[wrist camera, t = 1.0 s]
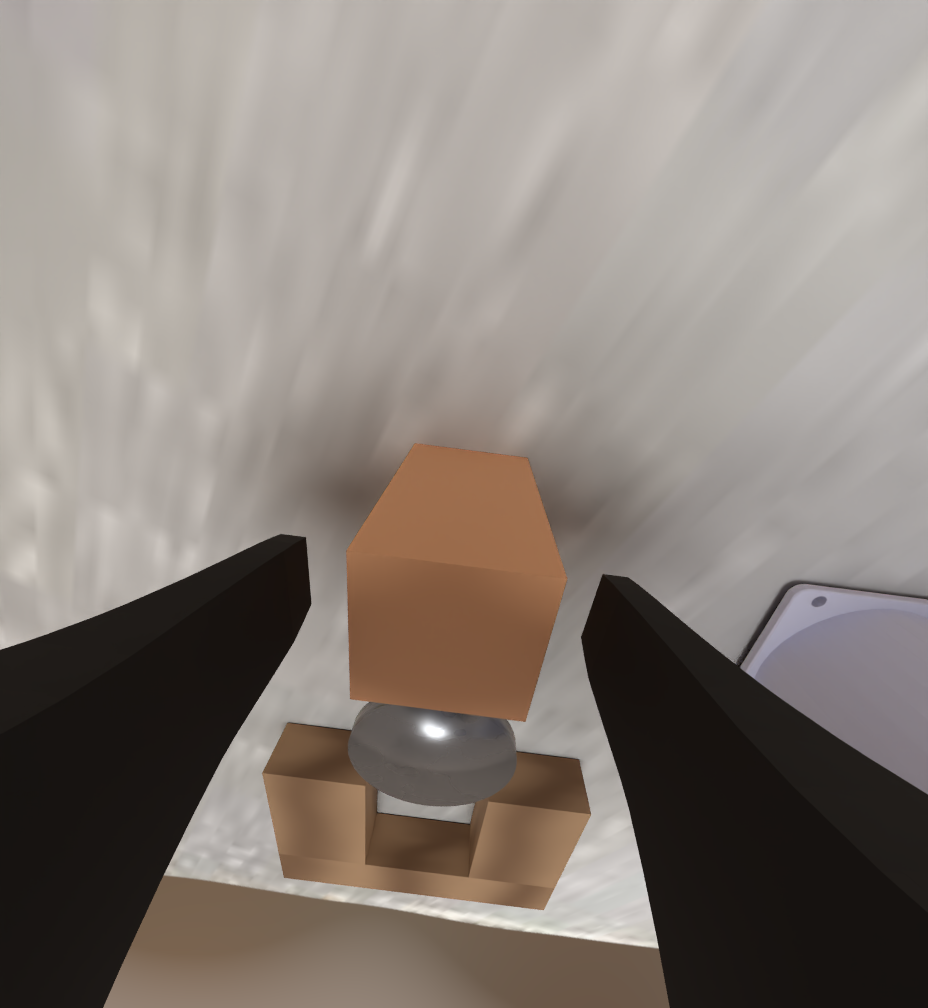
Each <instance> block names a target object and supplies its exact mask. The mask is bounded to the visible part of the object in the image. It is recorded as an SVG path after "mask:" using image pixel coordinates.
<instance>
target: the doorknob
mask: <svg viewBox="0 0 928 1008" xmlns="http://www.w3.org/2000/svg"><path fill="white" fill-rule="evenodd" d="M348 755H349V758H350V761H351V763H352V765H353V767H354V769H355V770H356V771H357V772H358V774H359V775H360V776H361V777H362V778H363V779H364V780H365V781H366V782H368V783H369V784H370V785H372V786H373V787H375V788H376V789H378V790H379V791H381V792H383V793H385V794H387V795H390V796H392V797H395V798H397V799H400V800H403V801H407V802H411V803H415V804H421V805H428V806H458V805H465V804H469V803H474V802H477V801H480V800H483V799H485V798H488V797H490V796H492V795H494V794H495V793H497V792H499V791H500V790H501V789H502V788H504V787H505V786H506V785H507V784H508V783H509V781H510V780H511V778H512V777H513V775H514V772H515V770H516V765H517V756H516V742H515V736H514V732H513V730H512V728H511V725H510V724H509V722H508V721H507V719H500V718H492V717H485V716H477V715H469V714H462V713H454V712H446V711H438V710H431V709H423V708H415V707H407V706H400V705H392V704H384V703H376V702H369V703H368V704H366V705H365V706H364V707H363V708H362V710H361V711H360V712H359V714H358V715H357V717H356V719H355V722H354V725H353V728H352V731H351V734H350V738H349V741H348Z"/></svg>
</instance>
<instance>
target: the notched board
mask: <svg viewBox="0 0 928 1008" xmlns="http://www.w3.org/2000/svg"><path fill="white" fill-rule="evenodd" d="M350 734H351V731H347V730H339V729H332V728H324V727H316V726H308V725H300V724H292V723H287V725H286V727H285V729H284V731H283V733H282V735H281V737H280V739H279V741H278V743H277V745H276V747H275V749H274V751H273V753H272V755H271V757H270V759H269V761H268V763H267V765H266V767H265V769H264V771H263V773H262V774H263V779H264V784H265V788H266V793H267V798H268V803H269V808H270V813H271V817H272V822H273V827H274V832H275V837H276V841H277V846H278V851H279V856H280V861H281V866H282V870H283V875H284V878H291V879H299V880H307V881H315V882H323V883H331V884H339V885H347V886H355V887H362V888H370V889H378V890H386V891H394V892H402V893H410V894H418V895H426V896H434V897H442V898H450V899H458V900H466V901H474V902H482V903H490V904H498V905H506V906H514V907H522V908H530V909H538V910H544V908H545V906H546V904H547V902H548V900H549V898H550V896H551V894H552V892H553V890H554V888H555V886H556V884H557V882H558V880H559V878H560V876H561V874H562V872H563V870H564V868H565V866H566V864H567V862H568V860H569V858H570V856H571V854H572V852H573V850H574V848H575V846H576V844H577V842H578V840H579V838H580V836H581V834H582V832H583V830H584V828H585V826H586V824H587V822H588V820H589V818H590V816H591V812H590V807H589V802H588V798H587V793H586V789H585V784H584V780H583V775H582V771H581V766H580V761H579V760H577V759H569V758H561V757H553V756H545V755H537V754H529V753H521V752H516V756H517V765H516V770H515V772H514V775H513V777H512V778H511V780H510V781H509V783H508V784H507V785H506V786H505V787H504V788H502V789H501V790H500V791H499V792H497V793H495V794H494V795H492V796H490V797H488V798H485V799H483V800H480V801H477V802H475V806H474V810H473V815H472V819H471V823H470V825H468V824H460V823H452V822H444V821H436V820H428V819H420V818H412V817H405V816H397V815H389V814H381V813H377V789H376V788H375V787H373V786H372V785H370V784H369V783H368V782H366V781H365V780H364V779H363V778H362V777H361V776H360V775H359V774H358V772H357V771H356V770H355V769H354V767H353V765H352V763H351V761H350V758H349V755H348V741H349V738H350Z"/></svg>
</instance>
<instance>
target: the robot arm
mask: <svg viewBox="0 0 928 1008" xmlns="http://www.w3.org/2000/svg"><path fill="white" fill-rule="evenodd" d="M310 606H311V593H310V581H309V569H308V556H307V544H306V537H300V536H292V535H284V534H280V535H277V536H275V537H272V538H270V539H267V540H265V541H263V542H261V543H259V544H256V545H254V546H252V547H250V548H248V549H246V550H244V551H242V552H240V553H237V554H235V555H233V556H231V557H229V558H227V559H225V560H223V561H221V562H219V563H216V564H214V565H212V566H210V567H208V568H206V569H204V570H202V571H200V572H198V573H195V574H193V575H191V576H189V577H187V578H185V579H182V580H180V581H178V582H175V583H173V584H171V585H169V586H166V587H164V588H162V589H160V590H157V591H155V592H153V593H150V594H148V595H146V596H144V597H141V598H139V599H137V600H134V601H132V602H130V603H127V604H125V605H123V606H120V607H118V608H115V609H113V610H110V611H108V612H105V613H103V614H100V615H98V616H95V617H92V618H90V619H87V620H84V621H82V622H79V623H76V624H74V625H71V626H68V627H66V628H63V629H60V630H57V631H55V632H52V633H49V634H47V635H44V636H41V637H38V638H35V639H32V640H29V641H26V642H23V643H20V644H17V645H14V646H11V647H8V648H5V649H2V650H0V1008H103V1007H104V1004H105V1002H106V1000H107V997H108V995H109V993H110V991H111V988H112V986H113V984H114V981H115V979H116V977H117V975H118V972H119V970H120V968H121V966H122V963H123V961H124V959H125V957H126V955H127V952H128V950H129V948H130V946H131V944H132V942H133V940H134V937H135V935H136V933H137V931H138V929H139V927H140V924H141V922H142V920H143V918H144V916H145V914H146V912H147V909H148V907H149V905H150V903H151V901H152V899H153V896H154V894H155V892H156V890H157V888H158V886H159V884H160V881H161V879H162V877H163V875H164V873H165V871H166V869H167V867H168V865H169V863H170V861H171V859H172V857H173V855H174V853H175V851H176V849H177V847H178V845H179V843H180V841H181V839H182V837H183V834H184V832H185V830H186V828H187V826H188V824H189V822H190V820H191V818H192V816H193V814H194V812H195V810H196V808H197V806H198V804H199V802H200V800H201V799H202V797H203V795H204V793H205V791H206V789H207V787H208V785H209V783H210V781H211V779H212V777H213V775H214V773H215V771H216V769H217V767H218V766H219V764H220V762H221V760H222V758H223V756H224V754H225V753H226V751H227V749H228V748H229V746H230V744H231V742H232V741H233V739H234V737H235V736H236V734H237V732H238V731H239V729H240V728H241V726H242V724H243V723H244V721H245V720H246V718H247V716H248V715H249V713H250V712H251V710H252V708H253V707H254V705H255V704H256V702H257V701H258V699H259V697H260V696H261V694H262V693H263V691H264V689H265V688H266V686H267V685H268V683H269V681H270V680H271V678H272V677H273V675H274V674H275V672H276V670H277V669H278V667H279V665H280V664H281V662H282V661H283V659H284V657H285V656H286V654H287V653H288V651H289V649H290V648H291V646H292V644H293V643H294V641H295V639H296V637H297V634H298V632H299V630H300V628H301V626H302V624H303V622H304V619H305V617H306V615H307V613H308V610H309V608H310ZM581 639H582V645H583V651H584V657H585V663H586V668H587V673H588V678H589V681H590V684H591V688H592V691H593V694H594V697H595V701H596V704H597V707H598V710H599V713H600V717H601V720H602V723H603V726H604V729H605V732H606V735H607V738H608V741H609V745H610V748H611V751H612V754H613V757H614V760H615V763H616V766H617V769H618V773H619V776H620V779H621V782H622V786H623V789H624V793H625V796H626V800H627V803H628V807H629V811H630V815H631V820H632V824H633V828H634V833H635V837H636V842H637V846H638V850H639V855H640V859H641V864H642V868H643V873H644V878H645V882H646V887H647V892H648V897H649V902H650V907H651V911H652V916H653V921H654V926H655V931H656V936H657V941H658V946H659V951H660V957H661V962H662V967H663V973H664V978H665V983H666V989H667V994H668V1000H669V1005H670V1008H928V600H927V599H919V598H911V597H903V596H896V595H888V594H880V593H872V592H864V591H856V590H849V589H841V588H833V587H825V586H817V585H810V584H799V585H796V586H793V587H792V588H790V589H789V590H788V591H787V593H786V594H785V596H784V597H783V599H782V601H781V602H780V604H779V605H778V607H777V609H776V610H775V612H774V613H773V615H772V617H771V618H770V620H769V621H768V623H767V625H766V626H765V628H764V629H763V631H762V633H761V634H760V636H759V638H758V639H757V641H756V642H755V644H754V646H753V647H752V649H751V650H750V652H749V654H748V655H747V657H746V658H745V660H744V662H743V663H742V665H741V666H740V668H739V667H738V666H737V665H736V664H734V663H733V662H732V661H730V660H729V659H728V658H727V657H725V656H724V655H723V654H721V653H720V652H719V651H718V650H716V649H715V648H714V647H713V646H711V645H710V644H709V643H708V642H707V641H705V640H704V639H703V638H702V637H700V636H699V635H698V634H697V633H696V632H694V631H693V630H692V629H691V628H690V627H688V626H687V625H686V624H685V623H684V622H682V621H681V620H680V619H679V618H678V617H676V616H675V615H674V614H673V613H672V612H670V611H669V610H668V609H667V608H666V607H664V606H663V605H662V604H661V603H660V602H659V601H657V600H656V599H655V598H654V597H653V596H651V595H650V594H649V593H648V592H646V591H645V590H644V589H643V588H641V587H640V586H639V585H638V584H636V583H635V582H634V581H632V580H631V579H629V578H628V577H621V576H613V575H605V574H603V575H602V578H601V581H600V583H599V586H598V589H597V592H596V595H595V598H594V601H593V604H592V607H591V610H590V613H589V616H588V618H587V621H586V624H585V627H584V630H583V633H582V636H581Z"/></svg>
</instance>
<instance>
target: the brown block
mask: <svg viewBox="0 0 928 1008" xmlns="http://www.w3.org/2000/svg"><path fill="white" fill-rule="evenodd" d="M346 553H347V593H348V632H349V671H350V699H353V700H361V701H369V702H376V703H384V704H392V705H400V706H407V707H415V708H423V709H431V710H438V711H446V712H454V713H462V714H469V715H477V716H485V717H492V718H500V719H508V720H516V721H523V722H526V718H527V715H528V711H529V708H530V705H531V701H532V698H533V694H534V691H535V687H536V684H537V681H538V677H539V674H540V670H541V667H542V664H543V660H544V657H545V653H546V650H547V647H548V643H549V640H550V636H551V633H552V630H553V626H554V623H555V619H556V616H557V612H558V609H559V606H560V602H561V599H562V595H563V592H564V589H565V585H566V582H567V576H566V573H565V570H564V567H563V564H562V561H561V558H560V555H559V552H558V549H557V546H556V543H555V540H554V537H553V534H552V531H551V528H550V525H549V522H548V519H547V516H546V513H545V510H544V507H543V504H542V500H541V497H540V494H539V491H538V488H537V485H536V482H535V479H534V476H533V473H532V470H531V467H530V464H529V461H528V458H525V457H517V456H509V455H501V454H494V453H486V452H478V451H470V450H463V449H455V448H447V447H439V446H432V445H424V444H416V443H415V444H414V446H413V447H412V449H411V450H410V452H409V453H408V455H407V456H406V458H405V460H404V461H403V463H402V464H401V466H400V467H399V469H398V471H397V472H396V474H395V475H394V477H393V478H392V480H391V481H390V483H389V485H388V486H387V488H386V489H385V491H384V492H383V494H382V496H381V497H380V499H379V500H378V502H377V503H376V505H375V506H374V508H373V510H372V511H371V513H370V514H369V516H368V517H367V519H366V521H365V522H364V524H363V525H362V527H361V528H360V530H359V531H358V533H357V535H356V536H355V538H354V539H353V541H352V542H351V544H350V546H349V547H348V549H347V550H346Z"/></svg>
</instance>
